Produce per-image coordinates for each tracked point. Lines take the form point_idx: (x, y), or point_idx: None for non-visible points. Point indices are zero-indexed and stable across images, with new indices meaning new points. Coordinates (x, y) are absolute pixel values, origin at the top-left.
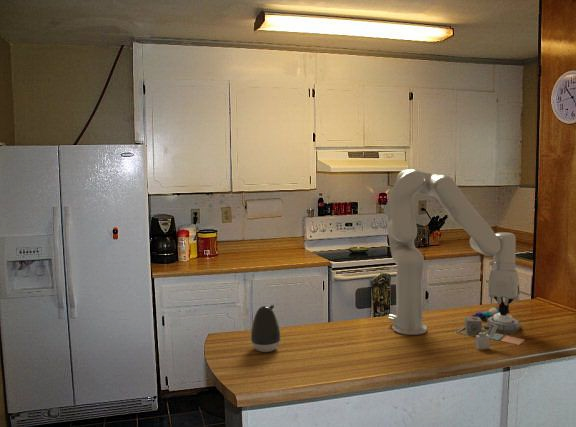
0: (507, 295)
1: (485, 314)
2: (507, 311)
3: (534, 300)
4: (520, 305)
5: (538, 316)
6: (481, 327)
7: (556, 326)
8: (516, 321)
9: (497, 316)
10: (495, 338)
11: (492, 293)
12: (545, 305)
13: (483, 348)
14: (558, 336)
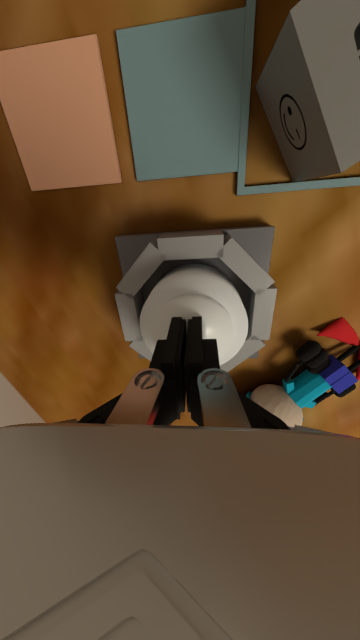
0: (41, 463)
1: (308, 382)
2: (156, 347)
3: None
4: None
5: None
6: (270, 56)
7: (75, 413)
8: (134, 338)
9: (215, 301)
10: (141, 52)
11: (354, 472)
12: None
13: None
14: (5, 335)
